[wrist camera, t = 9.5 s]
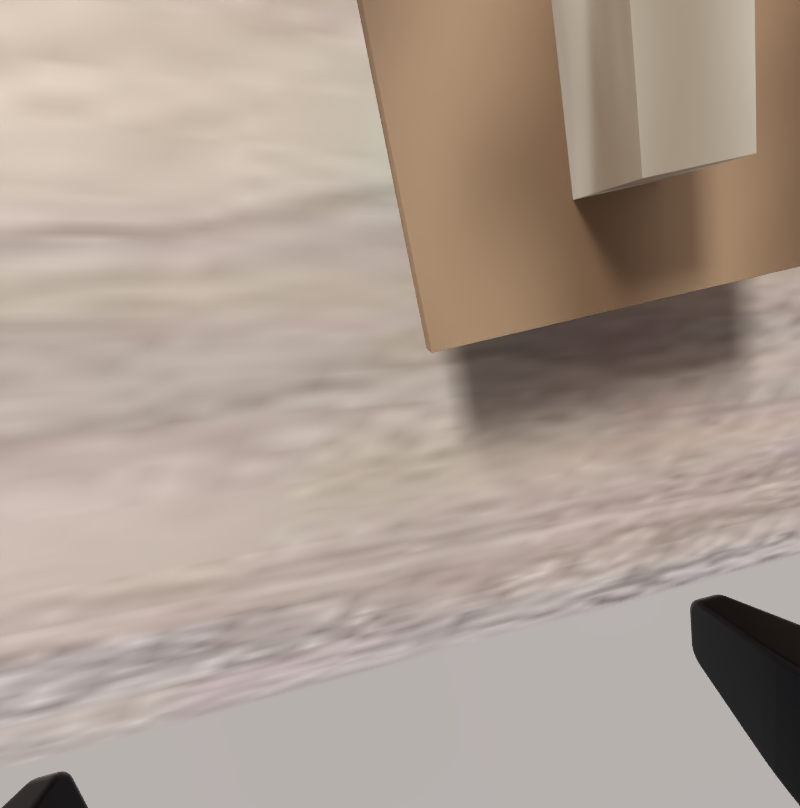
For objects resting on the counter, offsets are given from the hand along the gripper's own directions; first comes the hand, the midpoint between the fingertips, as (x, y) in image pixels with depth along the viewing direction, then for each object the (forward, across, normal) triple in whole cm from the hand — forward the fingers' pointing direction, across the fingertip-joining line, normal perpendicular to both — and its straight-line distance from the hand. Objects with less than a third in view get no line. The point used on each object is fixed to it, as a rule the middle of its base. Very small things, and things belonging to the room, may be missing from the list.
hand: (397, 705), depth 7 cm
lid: (+8, -8, -9) cm, 14 cm away
